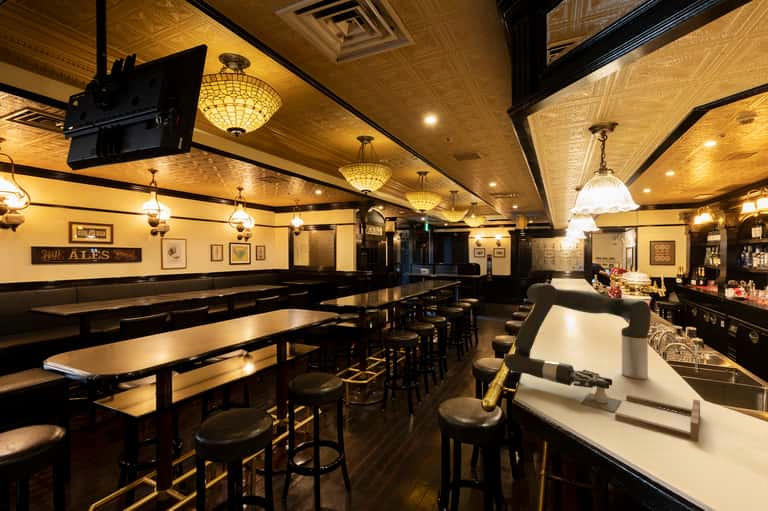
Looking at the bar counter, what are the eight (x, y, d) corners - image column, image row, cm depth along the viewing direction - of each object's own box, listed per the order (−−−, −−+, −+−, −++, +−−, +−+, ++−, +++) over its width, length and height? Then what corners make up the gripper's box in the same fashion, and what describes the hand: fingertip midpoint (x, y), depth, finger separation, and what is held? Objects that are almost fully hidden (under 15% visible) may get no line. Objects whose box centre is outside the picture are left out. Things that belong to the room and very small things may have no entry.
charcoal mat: (589, 394, 129) (589, 392, 129) (621, 401, 122) (621, 400, 122) (580, 403, 120) (580, 402, 120) (614, 412, 113) (614, 411, 113)
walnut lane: (627, 398, 125) (627, 385, 125) (700, 416, 111) (700, 400, 111) (615, 418, 109) (615, 403, 109) (698, 441, 96) (698, 423, 96)
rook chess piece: (606, 399, 123) (605, 377, 123) (610, 404, 118) (609, 381, 118) (592, 398, 124) (591, 376, 124) (595, 403, 120) (594, 380, 120)
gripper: (551, 367, 126) (606, 378, 114) (563, 358, 136) (614, 368, 124) (551, 387, 126) (606, 401, 114) (563, 377, 136) (614, 389, 124)
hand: (610, 384), depth 119 cm, fingers open, 4 cm apart
